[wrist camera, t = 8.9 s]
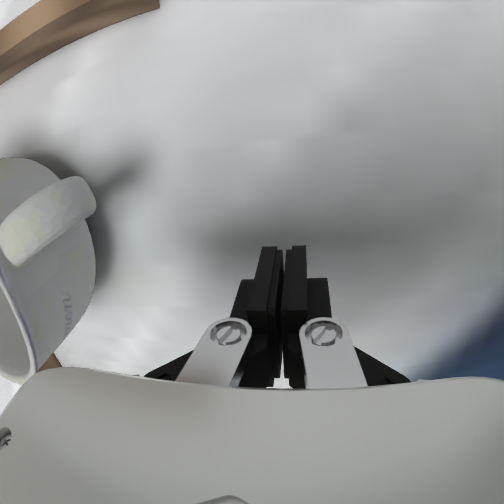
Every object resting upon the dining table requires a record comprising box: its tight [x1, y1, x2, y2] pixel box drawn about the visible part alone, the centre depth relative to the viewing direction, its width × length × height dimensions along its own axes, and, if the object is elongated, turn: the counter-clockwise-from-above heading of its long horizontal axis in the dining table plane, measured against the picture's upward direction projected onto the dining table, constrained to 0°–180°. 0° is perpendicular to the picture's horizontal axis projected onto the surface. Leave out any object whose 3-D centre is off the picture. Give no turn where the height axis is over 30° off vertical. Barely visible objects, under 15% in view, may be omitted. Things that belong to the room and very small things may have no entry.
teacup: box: [0, 158, 96, 385], centre depth 12 cm, size 14×11×8 cm
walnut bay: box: [0, 0, 159, 372], centre depth 15 cm, size 18×27×4 cm, turn 6°
